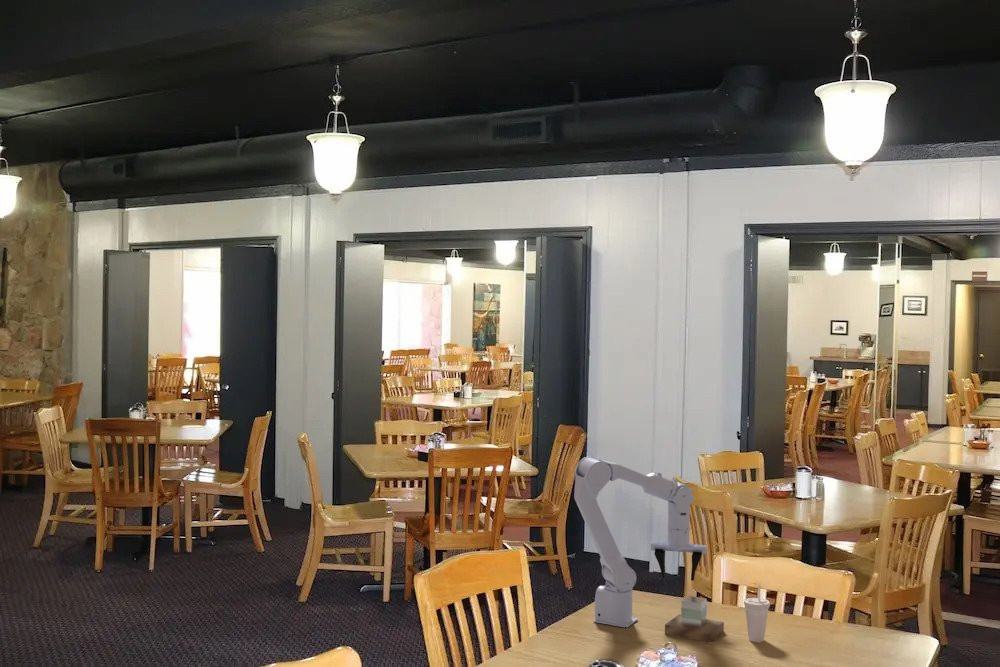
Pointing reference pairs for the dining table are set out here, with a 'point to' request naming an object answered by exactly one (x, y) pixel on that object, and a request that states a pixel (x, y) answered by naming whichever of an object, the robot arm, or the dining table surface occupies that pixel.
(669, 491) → the robot arm
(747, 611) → the smoothie
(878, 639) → the dining table surface
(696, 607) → the steel tin
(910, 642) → the dining table surface
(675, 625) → the walnut block
